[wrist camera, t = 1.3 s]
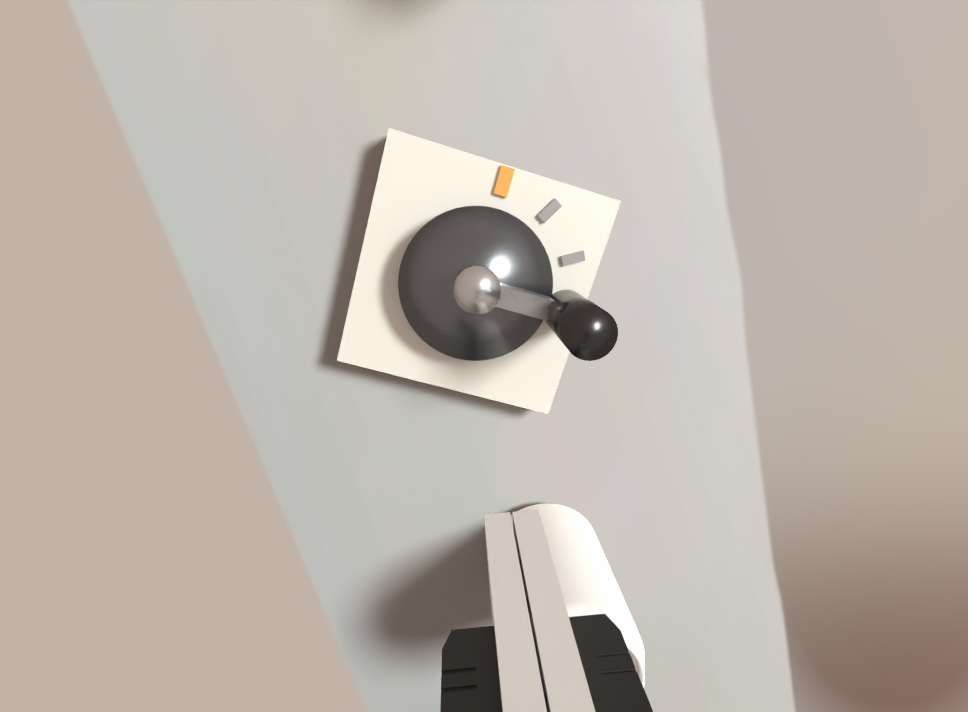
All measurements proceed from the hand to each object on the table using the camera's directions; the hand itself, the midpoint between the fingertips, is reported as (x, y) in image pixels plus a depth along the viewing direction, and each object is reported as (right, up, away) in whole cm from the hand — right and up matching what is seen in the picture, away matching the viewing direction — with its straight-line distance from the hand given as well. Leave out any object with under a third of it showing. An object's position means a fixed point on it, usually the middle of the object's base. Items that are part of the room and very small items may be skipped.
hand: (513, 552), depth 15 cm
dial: (0, +10, +16) cm, 19 cm away
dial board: (-1, +11, +18) cm, 21 cm away
